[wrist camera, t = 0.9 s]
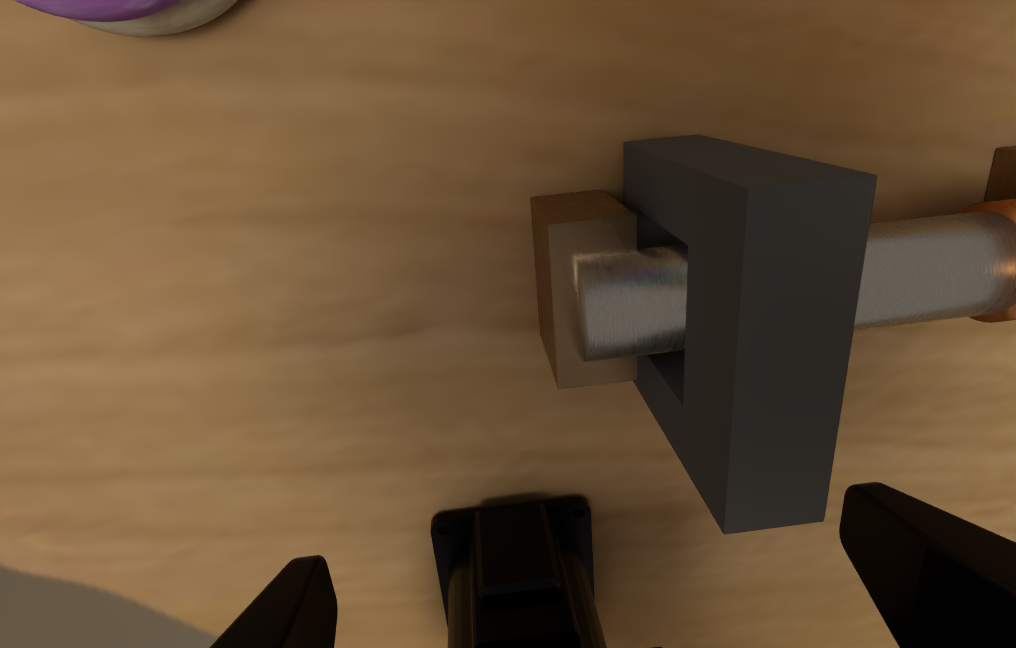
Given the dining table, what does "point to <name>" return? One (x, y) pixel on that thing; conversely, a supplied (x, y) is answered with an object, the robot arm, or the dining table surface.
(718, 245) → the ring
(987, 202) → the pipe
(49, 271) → the dining table surface
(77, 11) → the stacking toy
